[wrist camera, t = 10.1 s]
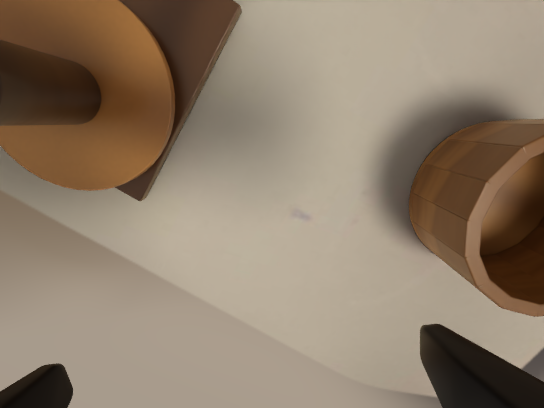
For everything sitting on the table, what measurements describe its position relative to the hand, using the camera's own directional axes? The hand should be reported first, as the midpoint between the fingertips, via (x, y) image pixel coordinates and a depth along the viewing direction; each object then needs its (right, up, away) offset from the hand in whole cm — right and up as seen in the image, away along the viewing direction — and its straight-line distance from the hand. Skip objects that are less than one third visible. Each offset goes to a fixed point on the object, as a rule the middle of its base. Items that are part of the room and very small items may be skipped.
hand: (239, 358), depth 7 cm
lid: (-9, +10, +8) cm, 15 cm away
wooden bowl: (+14, +4, +11) cm, 18 cm away
